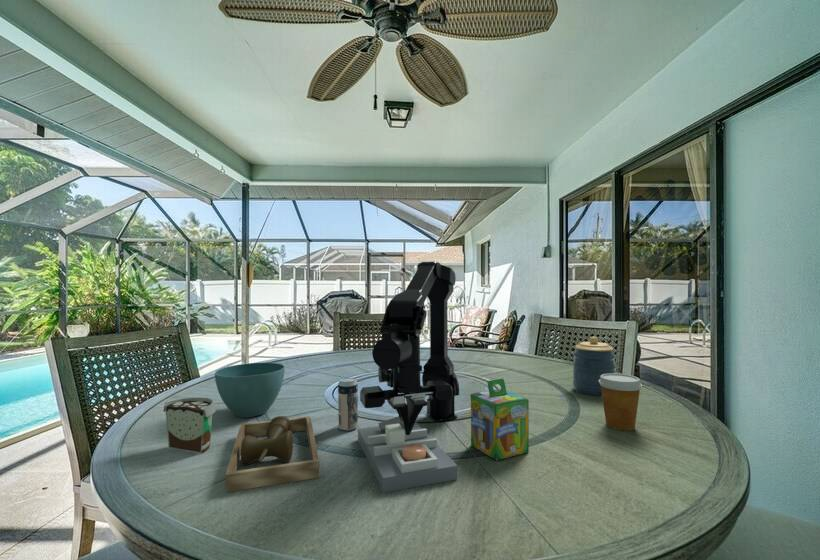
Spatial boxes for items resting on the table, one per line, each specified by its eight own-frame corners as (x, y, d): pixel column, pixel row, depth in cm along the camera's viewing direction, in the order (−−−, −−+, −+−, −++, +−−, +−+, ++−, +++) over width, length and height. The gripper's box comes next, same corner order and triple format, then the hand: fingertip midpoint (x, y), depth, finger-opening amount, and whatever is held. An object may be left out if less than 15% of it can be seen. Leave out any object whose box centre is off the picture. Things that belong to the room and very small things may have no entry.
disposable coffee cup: (646, 425, 98) (646, 376, 98) (636, 436, 91) (636, 384, 91) (605, 416, 105) (605, 371, 105) (593, 426, 98) (592, 377, 98)
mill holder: (310, 428, 99) (310, 416, 99) (319, 477, 74) (319, 461, 74) (240, 436, 94) (240, 423, 94) (225, 492, 69) (225, 475, 69)
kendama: (302, 436, 95) (286, 474, 75) (260, 440, 94) (233, 479, 74) (301, 411, 95) (285, 442, 75) (259, 414, 94) (232, 447, 74)
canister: (565, 386, 135) (564, 334, 135) (601, 384, 136) (600, 333, 136) (586, 397, 122) (585, 340, 122) (625, 395, 123) (625, 339, 123)
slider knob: (399, 440, 84) (398, 423, 84) (404, 447, 80) (404, 430, 80) (385, 441, 83) (385, 425, 83) (390, 449, 79) (390, 432, 79)
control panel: (415, 432, 96) (415, 415, 96) (457, 479, 73) (457, 457, 73) (358, 439, 91) (358, 422, 91) (383, 492, 68) (383, 469, 68)
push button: (421, 453, 77) (421, 442, 77) (429, 462, 73) (429, 452, 73) (399, 456, 76) (399, 445, 76) (406, 466, 72) (406, 455, 72)
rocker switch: (399, 420, 92) (398, 416, 92) (404, 426, 88) (403, 421, 88) (379, 427, 91) (378, 423, 91) (383, 433, 87) (382, 429, 87)
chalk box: (496, 462, 79) (495, 388, 79) (469, 445, 87) (468, 378, 87) (531, 452, 84) (530, 382, 84) (502, 437, 92) (501, 373, 92)
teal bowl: (199, 419, 106) (199, 373, 106) (250, 399, 123) (249, 360, 123) (252, 427, 99) (251, 379, 99) (298, 406, 116) (297, 364, 116)
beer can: (354, 432, 96) (353, 382, 96) (335, 431, 97) (335, 381, 97) (360, 425, 100) (360, 377, 100) (342, 424, 101) (342, 377, 101)
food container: (228, 443, 90) (228, 399, 90) (206, 454, 84) (206, 407, 84) (187, 436, 94) (187, 394, 94) (163, 447, 88) (163, 402, 88)
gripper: (433, 350, 93) (434, 416, 93) (354, 355, 87) (355, 426, 87) (453, 358, 82) (454, 434, 82) (365, 365, 76) (366, 446, 76)
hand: (407, 434), depth 82 cm, fingers closed
